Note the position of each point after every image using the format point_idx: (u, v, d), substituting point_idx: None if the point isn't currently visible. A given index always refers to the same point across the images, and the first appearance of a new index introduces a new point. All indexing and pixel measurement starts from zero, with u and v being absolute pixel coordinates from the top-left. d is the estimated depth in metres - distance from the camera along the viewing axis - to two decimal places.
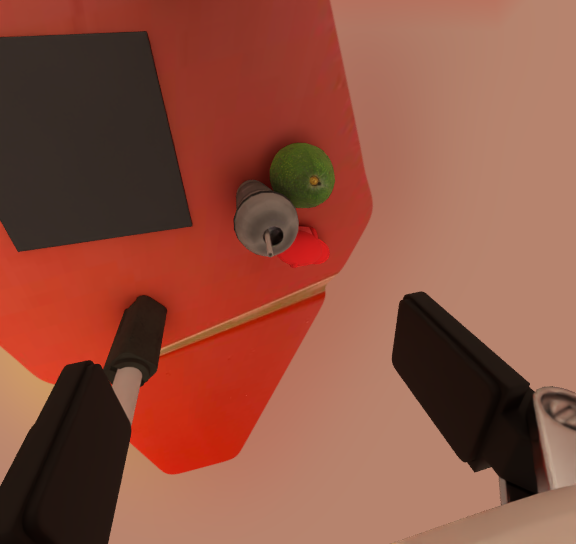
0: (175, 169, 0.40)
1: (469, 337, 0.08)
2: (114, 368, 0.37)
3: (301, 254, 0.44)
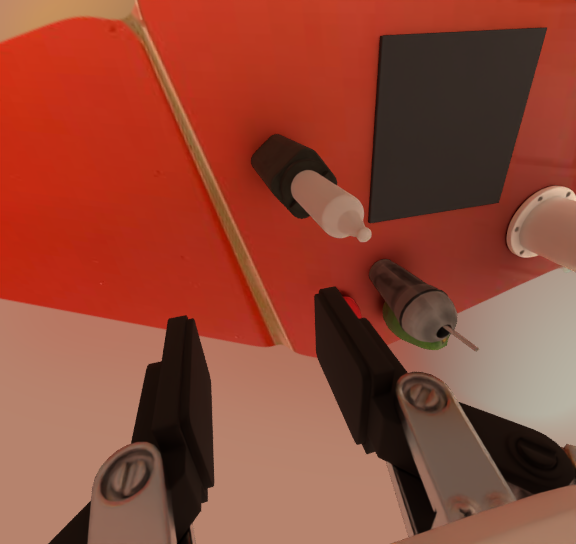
0: (418, 213, 0.46)
1: (358, 328, 0.08)
2: None
3: None
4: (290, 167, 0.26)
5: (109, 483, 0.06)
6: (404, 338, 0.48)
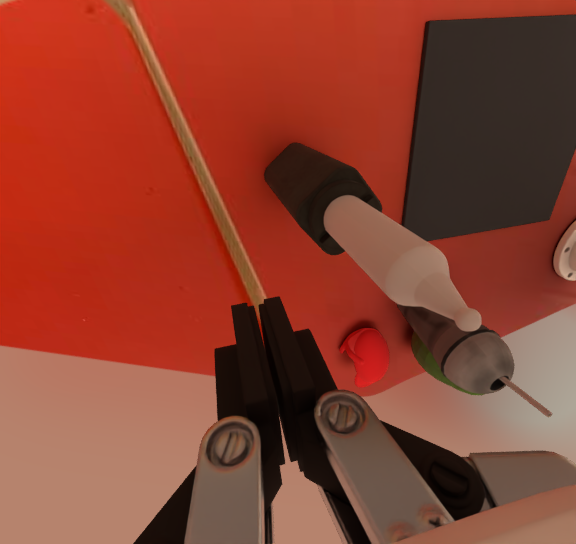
0: (457, 233, 0.40)
1: (290, 341, 0.08)
2: None
3: (378, 367, 0.40)
4: (324, 192, 0.19)
5: (211, 453, 0.06)
6: (439, 378, 0.41)
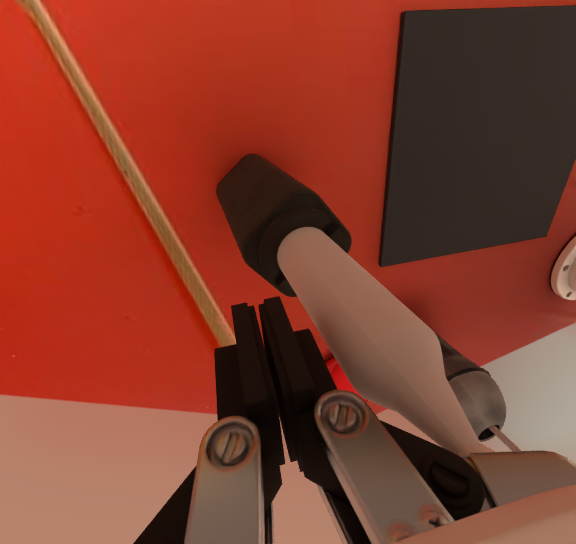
0: (444, 252, 0.35)
1: (290, 341, 0.08)
2: None
3: None
4: (276, 224, 0.15)
5: (212, 453, 0.06)
6: None
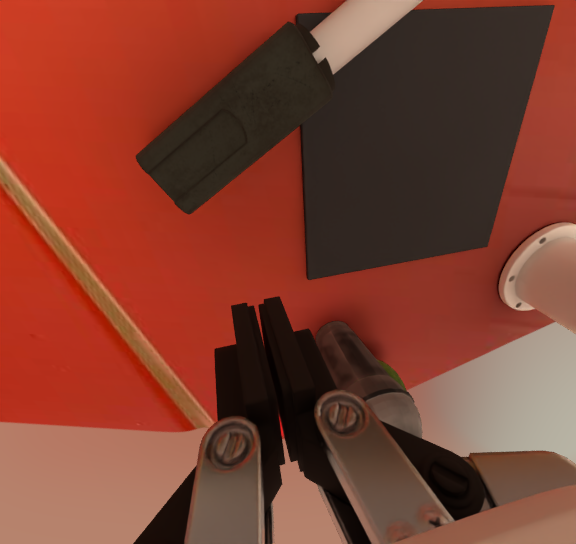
0: (376, 264, 0.34)
1: (290, 341, 0.08)
2: None
3: None
4: (295, 25, 0.20)
5: (212, 453, 0.06)
6: None
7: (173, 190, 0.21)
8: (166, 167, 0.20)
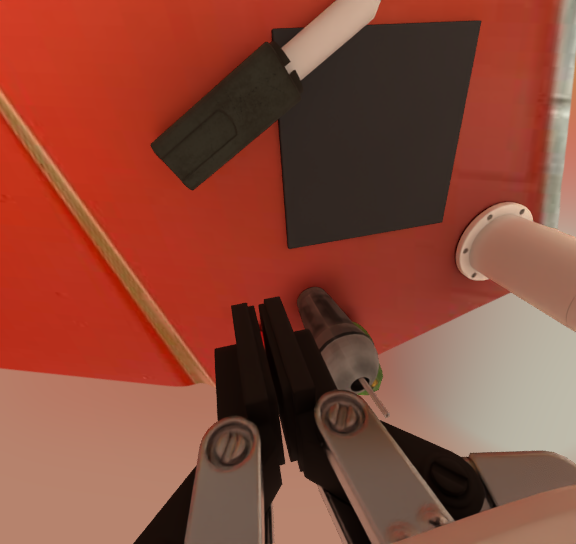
0: (346, 236, 0.40)
1: (290, 341, 0.08)
2: None
3: None
4: None
5: (211, 453, 0.06)
6: None
7: (180, 172, 0.27)
8: (175, 154, 0.27)
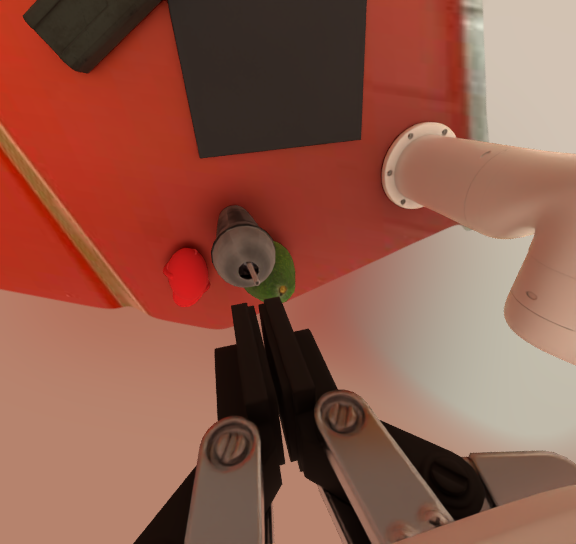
0: (260, 148, 0.40)
1: (290, 341, 0.08)
2: None
3: (187, 281, 0.41)
4: None
5: (212, 453, 0.06)
6: (250, 293, 0.42)
7: (56, 45, 0.28)
8: (47, 24, 0.27)
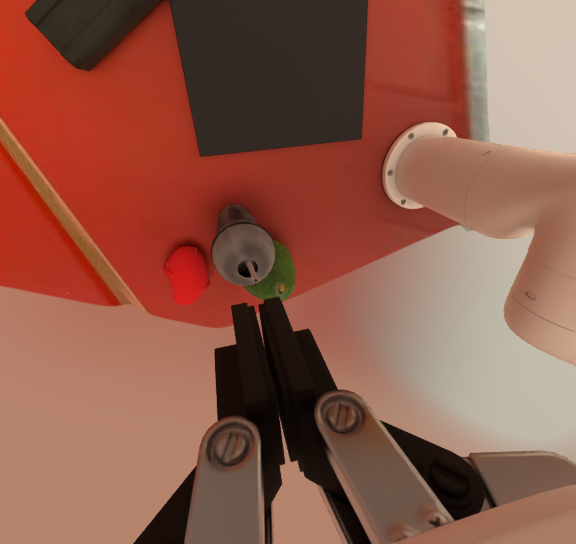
0: (260, 147, 0.41)
1: (290, 341, 0.08)
2: None
3: (187, 279, 0.41)
4: None
5: (212, 453, 0.06)
6: (249, 291, 0.42)
7: (58, 42, 0.28)
8: (49, 21, 0.27)
